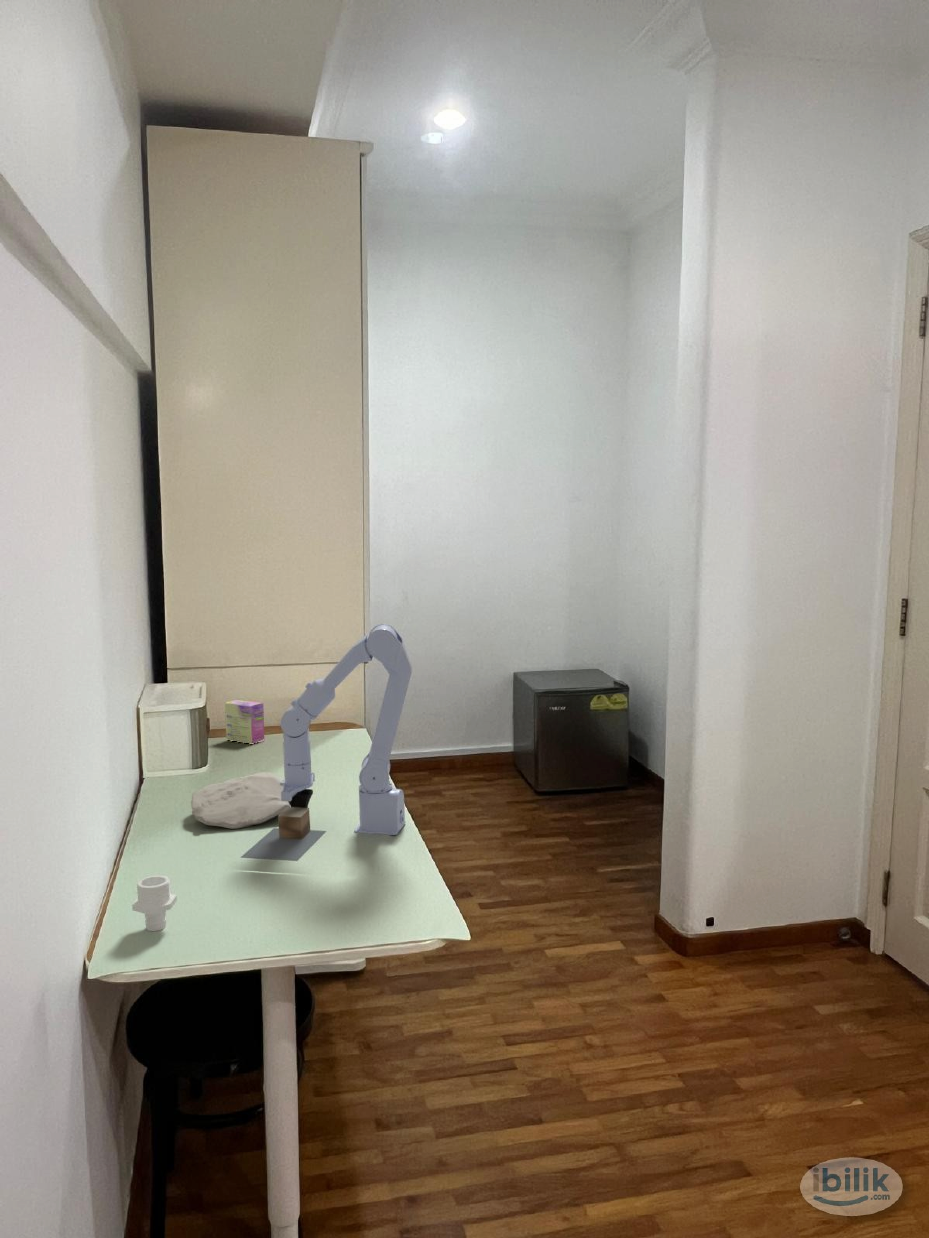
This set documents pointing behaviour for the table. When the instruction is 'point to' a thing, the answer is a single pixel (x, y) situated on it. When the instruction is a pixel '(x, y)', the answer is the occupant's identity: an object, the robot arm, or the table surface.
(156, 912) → the pipe fitting
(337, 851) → the table surface
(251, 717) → the box
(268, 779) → the rock
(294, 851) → the mat
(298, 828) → the cube
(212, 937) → the table surface
